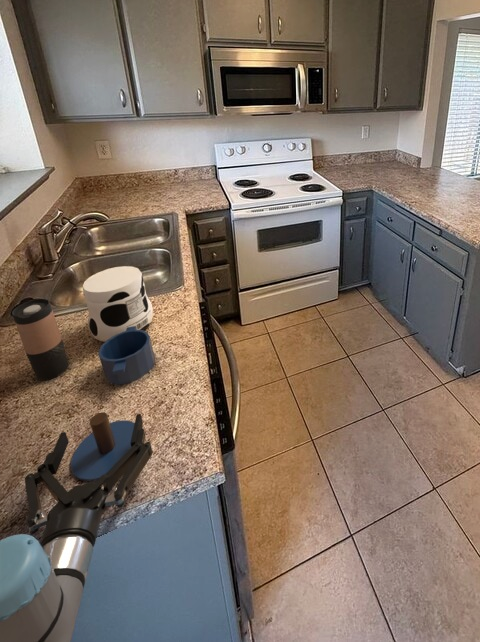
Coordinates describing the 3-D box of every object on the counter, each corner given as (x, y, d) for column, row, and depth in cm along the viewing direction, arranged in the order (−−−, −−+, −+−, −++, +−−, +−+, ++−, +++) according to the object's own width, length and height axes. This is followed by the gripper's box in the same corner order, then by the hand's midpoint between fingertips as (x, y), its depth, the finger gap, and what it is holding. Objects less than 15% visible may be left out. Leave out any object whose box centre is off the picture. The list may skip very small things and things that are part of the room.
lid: (62, 492, 67) (48, 458, 64) (83, 433, 78) (72, 401, 75) (136, 471, 70) (127, 437, 67) (146, 417, 81) (138, 386, 78)
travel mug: (59, 356, 100) (39, 295, 94) (76, 365, 97) (56, 302, 90) (28, 375, 94) (4, 311, 87) (45, 385, 91) (21, 319, 84)
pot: (97, 400, 86) (89, 374, 84) (113, 352, 102) (107, 328, 99) (150, 387, 90) (144, 362, 87) (158, 343, 105) (153, 320, 102)
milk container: (102, 317, 117) (89, 269, 111) (158, 308, 121) (149, 261, 115) (84, 353, 101) (68, 299, 95) (150, 341, 106) (138, 288, 100)
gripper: (-28, 599, 51) (36, 459, 70) (159, 536, 58) (171, 424, 77) (-47, 567, 49) (25, 431, 68) (151, 506, 56) (166, 398, 75)
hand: (103, 427), depth 73 cm, fingers open, 13 cm apart
